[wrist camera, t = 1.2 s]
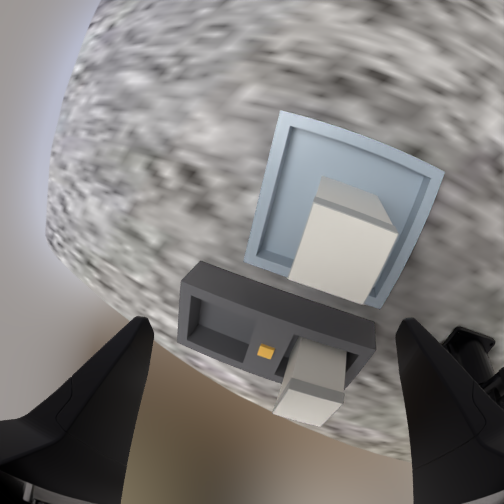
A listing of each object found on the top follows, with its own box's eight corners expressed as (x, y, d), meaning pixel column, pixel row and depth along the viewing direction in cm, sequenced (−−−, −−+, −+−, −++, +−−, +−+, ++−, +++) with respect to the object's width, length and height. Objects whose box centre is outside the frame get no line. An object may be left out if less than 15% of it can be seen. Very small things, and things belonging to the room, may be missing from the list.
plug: (378, 195, 17) (398, 233, 11) (357, 247, 19) (362, 305, 13) (321, 174, 17) (312, 201, 11) (304, 228, 19) (287, 279, 13)
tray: (434, 167, 15) (444, 171, 13) (378, 294, 20) (380, 309, 19) (286, 112, 17) (280, 110, 15) (251, 250, 22) (243, 261, 20)
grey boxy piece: (373, 321, 22) (377, 396, 15) (338, 372, 25) (330, 439, 19) (200, 260, 24) (149, 314, 17) (192, 320, 28) (153, 374, 21)
